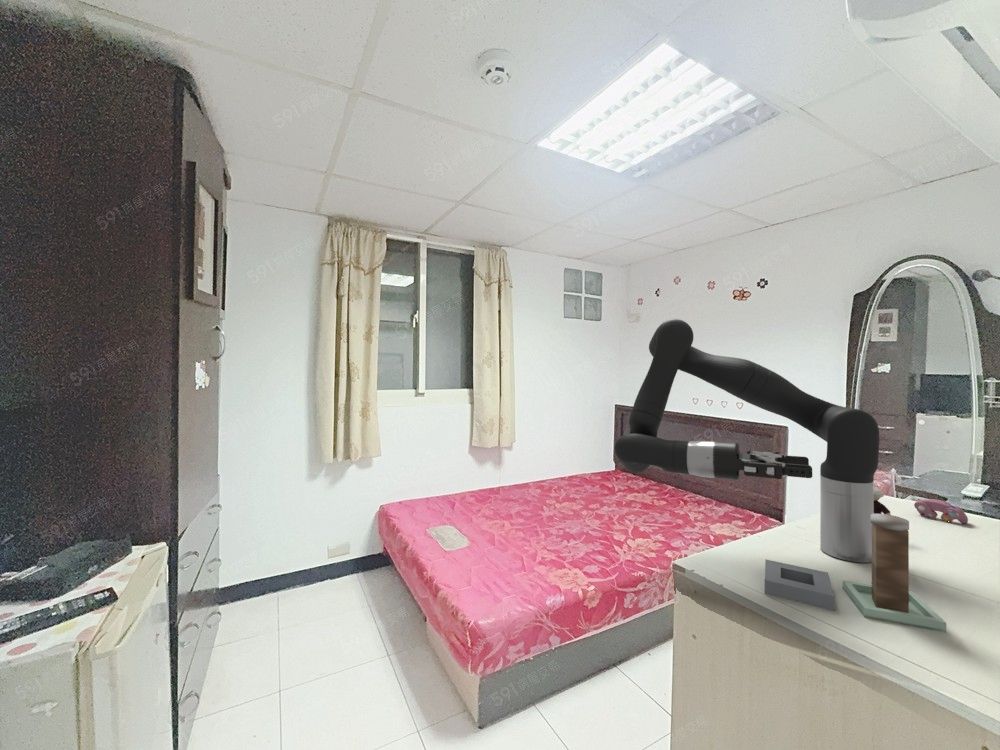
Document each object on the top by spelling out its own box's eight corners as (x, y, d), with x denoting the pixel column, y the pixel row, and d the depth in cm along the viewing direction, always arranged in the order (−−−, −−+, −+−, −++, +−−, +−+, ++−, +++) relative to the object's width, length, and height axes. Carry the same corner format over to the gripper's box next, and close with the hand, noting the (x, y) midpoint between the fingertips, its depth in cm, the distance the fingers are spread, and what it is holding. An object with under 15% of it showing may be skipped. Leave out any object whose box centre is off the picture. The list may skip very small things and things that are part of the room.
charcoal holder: (764, 596, 75) (764, 579, 75) (765, 574, 83) (765, 559, 83) (834, 613, 69) (834, 596, 69) (828, 588, 78) (827, 572, 78)
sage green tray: (842, 590, 77) (842, 580, 77) (912, 602, 73) (912, 591, 73) (864, 620, 68) (864, 607, 68) (946, 635, 64) (946, 622, 64)
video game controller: (915, 520, 119) (910, 500, 117) (921, 511, 120) (916, 491, 119) (964, 531, 110) (960, 510, 108) (970, 521, 111) (966, 500, 110)
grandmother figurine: (851, 532, 105) (851, 483, 105) (860, 530, 107) (860, 482, 107) (888, 544, 98) (888, 491, 98) (897, 541, 99) (897, 489, 99)
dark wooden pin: (873, 608, 70) (873, 519, 70) (868, 596, 74) (868, 511, 74) (912, 618, 67) (912, 525, 67) (905, 604, 71) (905, 517, 71)
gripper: (708, 446, 79) (813, 453, 70) (716, 436, 91) (806, 441, 82) (709, 485, 79) (814, 497, 70) (717, 470, 91) (808, 478, 82)
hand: (810, 467), depth 76 cm, fingers open, 8 cm apart
